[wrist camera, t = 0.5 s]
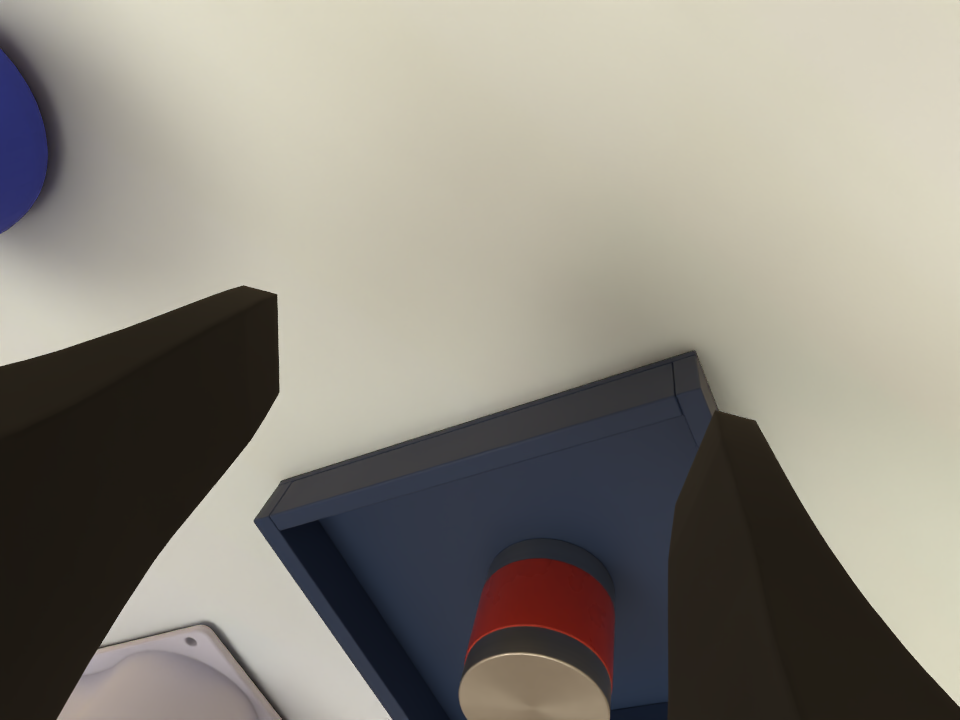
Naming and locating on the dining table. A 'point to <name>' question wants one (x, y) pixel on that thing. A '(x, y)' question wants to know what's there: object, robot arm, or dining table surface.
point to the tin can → (541, 637)
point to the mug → (19, 146)
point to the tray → (498, 530)
